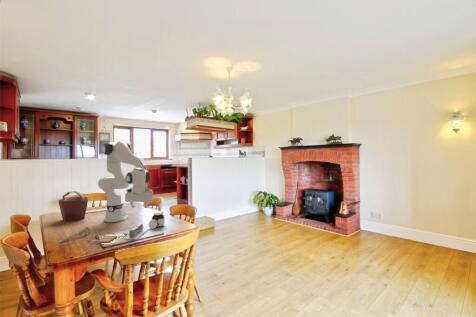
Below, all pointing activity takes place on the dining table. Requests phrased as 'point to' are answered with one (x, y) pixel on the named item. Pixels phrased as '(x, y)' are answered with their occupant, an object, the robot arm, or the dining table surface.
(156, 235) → the dining table surface
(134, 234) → the pusher bar
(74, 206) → the bucket
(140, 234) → the tool board
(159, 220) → the spread jar
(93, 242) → the mat
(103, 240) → the tile
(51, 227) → the dining table surface
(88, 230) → the caliper
